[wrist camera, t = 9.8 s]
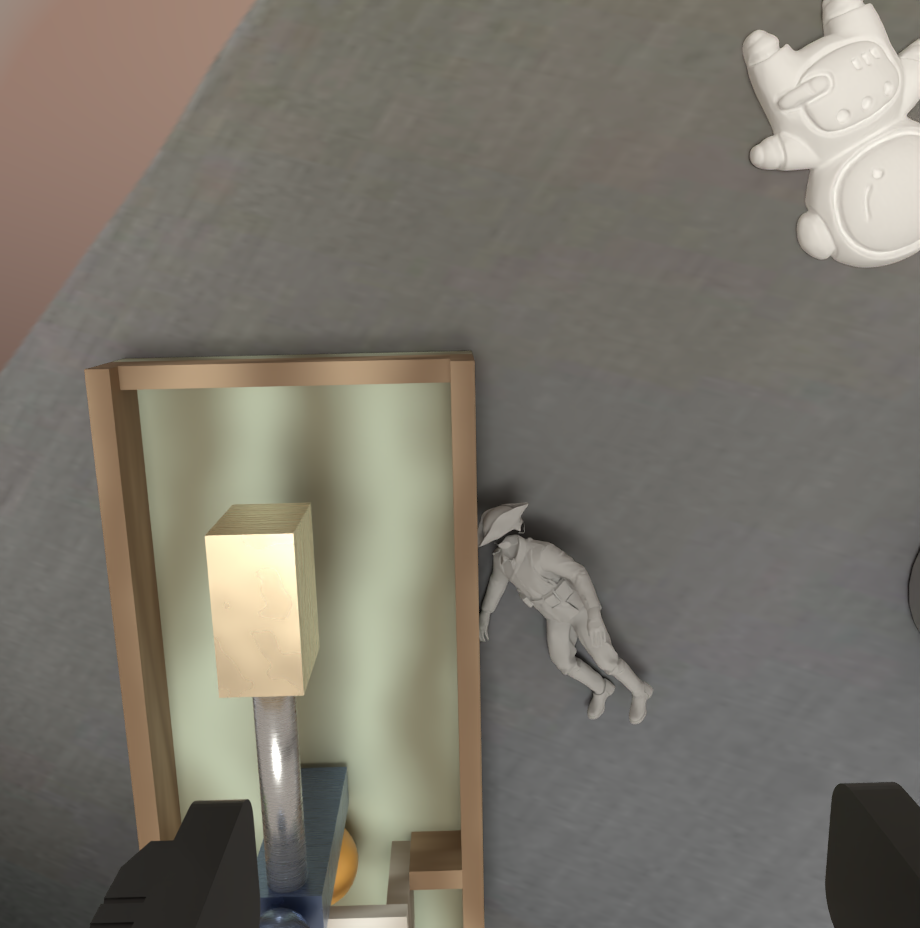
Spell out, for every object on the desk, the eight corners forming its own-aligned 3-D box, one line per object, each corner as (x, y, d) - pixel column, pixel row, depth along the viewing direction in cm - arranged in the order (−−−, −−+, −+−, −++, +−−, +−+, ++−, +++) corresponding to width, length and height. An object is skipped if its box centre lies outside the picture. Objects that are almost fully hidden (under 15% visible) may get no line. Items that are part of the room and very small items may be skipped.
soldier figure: (544, 716, 46) (398, 584, 40) (575, 636, 48) (441, 501, 42) (672, 730, 40) (524, 580, 34) (700, 639, 43) (566, 485, 37)
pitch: (471, 350, 40) (477, 368, 33) (481, 910, 47) (488, 1025, 40) (123, 358, 40) (54, 377, 33) (182, 920, 47) (135, 1037, 40)
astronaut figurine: (893, -41, 37) (931, -68, 34) (978, 222, 40) (1020, 218, 37) (704, 51, 38) (726, 33, 35) (798, 304, 41) (826, 307, 38)
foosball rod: (330, 467, 39) (284, 549, 28) (349, 808, 43) (314, 1002, 32) (263, 469, 39) (190, 551, 28) (288, 810, 43) (232, 1005, 32)
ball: (363, 884, 44) (361, 804, 44) (354, 924, 40) (352, 836, 40) (283, 886, 44) (282, 807, 44) (267, 927, 40) (265, 839, 40)
